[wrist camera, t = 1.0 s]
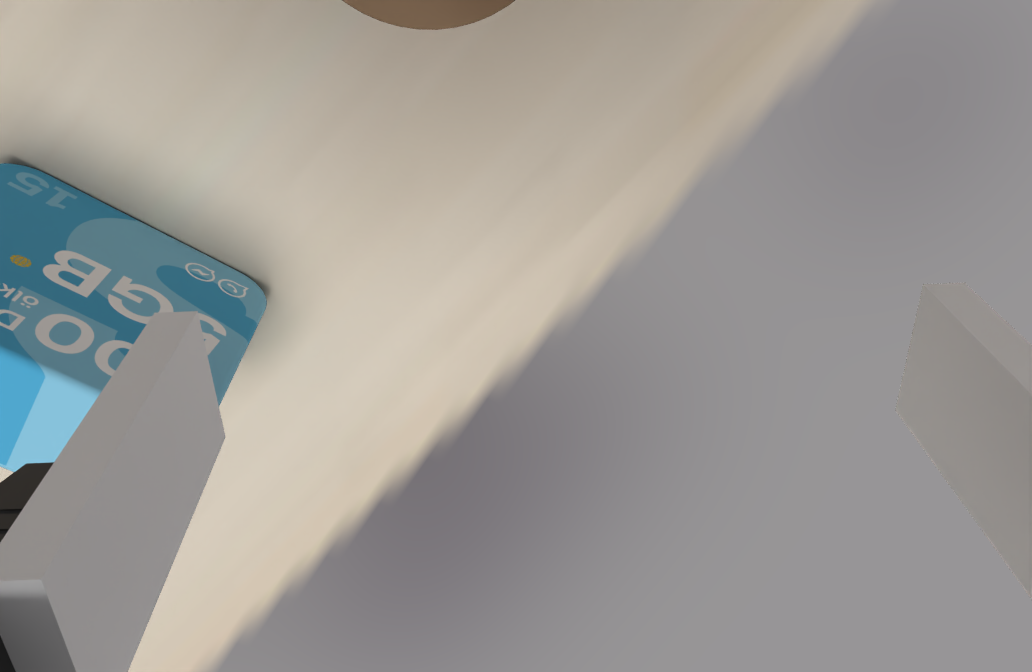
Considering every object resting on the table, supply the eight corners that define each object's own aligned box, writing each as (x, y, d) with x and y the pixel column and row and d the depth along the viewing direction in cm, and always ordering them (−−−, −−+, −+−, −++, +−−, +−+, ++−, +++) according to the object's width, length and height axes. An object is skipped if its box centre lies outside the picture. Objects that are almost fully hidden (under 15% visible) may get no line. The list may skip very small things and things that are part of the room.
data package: (275, 287, 40) (203, 441, 30) (234, 363, 42) (151, 533, 32) (7, 151, 37) (-181, 269, 27) (-26, 239, 39) (-215, 382, 28)
